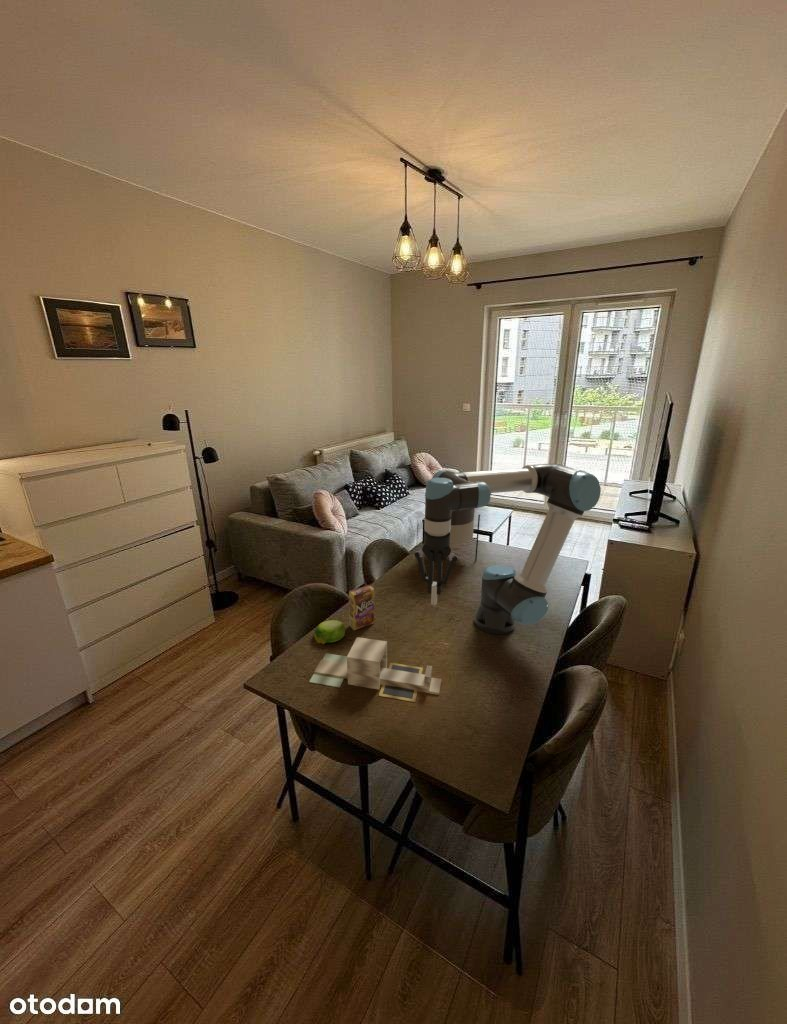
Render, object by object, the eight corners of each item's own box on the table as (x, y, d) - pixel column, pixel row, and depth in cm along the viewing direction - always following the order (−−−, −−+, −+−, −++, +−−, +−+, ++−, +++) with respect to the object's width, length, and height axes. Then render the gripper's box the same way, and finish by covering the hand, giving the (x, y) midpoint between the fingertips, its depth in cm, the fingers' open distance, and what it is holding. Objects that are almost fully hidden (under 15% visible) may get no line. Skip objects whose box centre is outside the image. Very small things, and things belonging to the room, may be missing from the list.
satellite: (443, 671, 134) (444, 644, 131) (437, 706, 121) (438, 677, 117) (326, 652, 143) (325, 627, 139) (308, 683, 129) (306, 656, 126)
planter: (460, 576, 195) (464, 505, 183) (414, 563, 208) (415, 495, 196) (481, 556, 216) (486, 491, 204) (438, 545, 228) (440, 483, 217)
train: (431, 677, 131) (432, 658, 128) (429, 690, 125) (429, 671, 123) (358, 665, 136) (358, 647, 133) (352, 677, 130) (352, 659, 128)
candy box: (354, 631, 154) (353, 595, 149) (349, 625, 158) (347, 590, 153) (375, 623, 159) (374, 588, 154) (369, 618, 162) (368, 583, 157)
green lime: (332, 649, 145) (331, 637, 143) (308, 639, 150) (307, 627, 149) (352, 632, 154) (351, 621, 153) (329, 623, 159) (328, 612, 158)
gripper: (461, 529, 122) (456, 599, 130) (417, 524, 125) (415, 593, 133) (458, 538, 116) (454, 612, 123) (412, 534, 118) (410, 606, 126)
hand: (434, 602), depth 128 cm, fingers closed
